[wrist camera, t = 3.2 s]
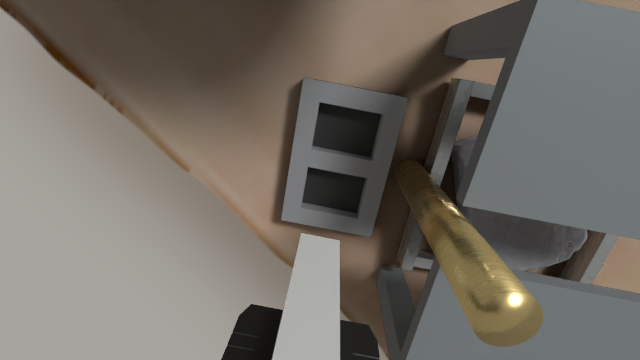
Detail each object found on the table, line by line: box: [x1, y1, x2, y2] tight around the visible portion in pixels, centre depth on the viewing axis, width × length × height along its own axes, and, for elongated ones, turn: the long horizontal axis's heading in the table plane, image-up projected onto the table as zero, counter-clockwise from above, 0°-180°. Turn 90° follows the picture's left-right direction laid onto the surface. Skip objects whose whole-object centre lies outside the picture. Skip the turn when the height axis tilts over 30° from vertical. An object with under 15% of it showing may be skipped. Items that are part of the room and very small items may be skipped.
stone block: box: [452, 136, 588, 271], centre depth 26 cm, size 12×5×10 cm
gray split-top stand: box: [376, 0, 640, 360], centre depth 22 cm, size 23×18×11 cm
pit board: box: [281, 78, 408, 237], centre depth 27 cm, size 12×8×2 cm, turn 170°
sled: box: [395, 78, 618, 347], centre depth 19 cm, size 16×18×17 cm
